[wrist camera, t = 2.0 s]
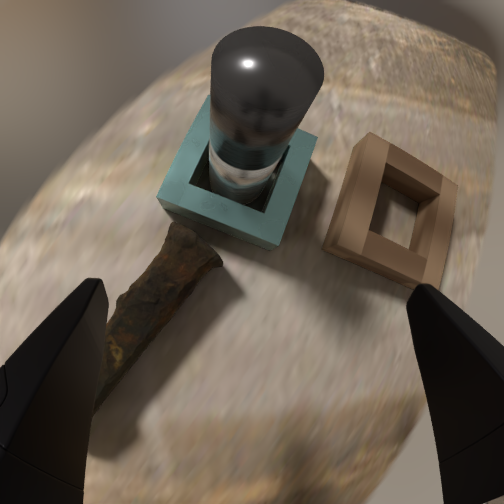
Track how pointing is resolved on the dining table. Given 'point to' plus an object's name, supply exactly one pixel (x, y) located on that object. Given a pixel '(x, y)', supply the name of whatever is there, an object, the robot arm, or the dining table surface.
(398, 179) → the frame
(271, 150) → the grey and white cylinder
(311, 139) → the socket block
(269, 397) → the dining table surface
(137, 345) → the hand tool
